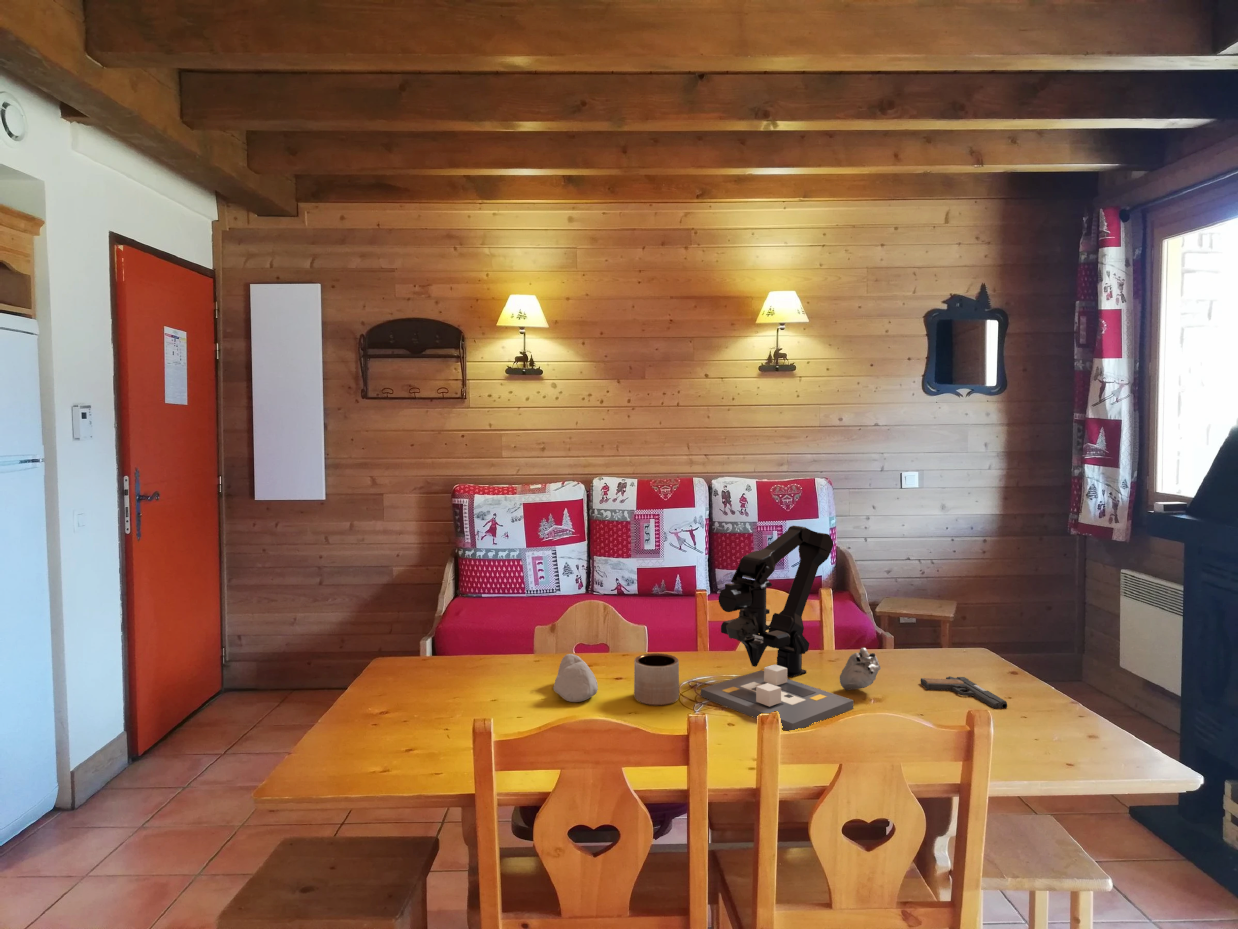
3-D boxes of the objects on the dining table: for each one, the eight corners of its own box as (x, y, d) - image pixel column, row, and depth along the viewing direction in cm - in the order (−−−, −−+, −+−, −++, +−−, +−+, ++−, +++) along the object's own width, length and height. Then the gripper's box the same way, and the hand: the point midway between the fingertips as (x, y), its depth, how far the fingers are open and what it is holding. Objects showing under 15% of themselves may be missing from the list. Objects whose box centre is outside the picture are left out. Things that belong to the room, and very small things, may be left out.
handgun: (962, 716, 181) (1009, 711, 183) (962, 706, 181) (1009, 701, 183) (916, 685, 200) (959, 681, 202) (916, 677, 199) (959, 672, 201)
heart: (880, 684, 198) (872, 637, 198) (887, 697, 189) (878, 648, 188) (839, 689, 199) (831, 643, 199) (844, 702, 190) (836, 654, 190)
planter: (676, 708, 183) (676, 668, 183) (630, 705, 186) (630, 665, 185) (681, 692, 194) (681, 654, 193) (638, 689, 196) (638, 651, 196)
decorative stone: (605, 693, 186) (580, 659, 186) (571, 718, 185) (546, 684, 185) (599, 674, 203) (576, 643, 203) (567, 698, 202) (545, 667, 202)
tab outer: (767, 697, 183) (767, 683, 183) (781, 702, 180) (781, 687, 180) (756, 701, 181) (756, 686, 181) (769, 706, 178) (769, 691, 177)
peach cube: (774, 678, 197) (774, 664, 197) (787, 682, 194) (787, 668, 194) (764, 681, 194) (764, 667, 194) (776, 685, 191) (776, 671, 191)
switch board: (761, 677, 204) (761, 669, 204) (853, 708, 183) (853, 699, 182) (700, 696, 191) (700, 687, 191) (792, 732, 169) (792, 722, 169)
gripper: (705, 603, 201) (705, 663, 202) (761, 618, 186) (761, 682, 187) (735, 597, 208) (735, 655, 209) (792, 610, 193) (791, 673, 194)
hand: (754, 666), depth 200 cm, fingers closed
